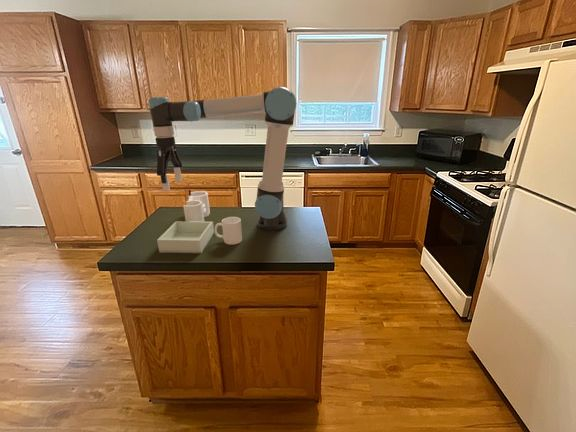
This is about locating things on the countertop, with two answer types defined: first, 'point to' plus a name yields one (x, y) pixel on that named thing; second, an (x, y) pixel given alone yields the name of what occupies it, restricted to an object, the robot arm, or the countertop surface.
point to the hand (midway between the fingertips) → (173, 185)
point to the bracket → (197, 206)
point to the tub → (186, 237)
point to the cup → (230, 230)
